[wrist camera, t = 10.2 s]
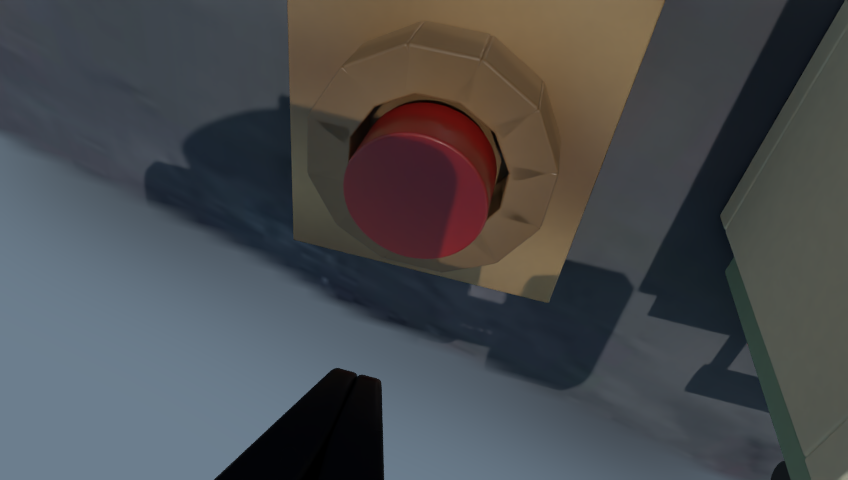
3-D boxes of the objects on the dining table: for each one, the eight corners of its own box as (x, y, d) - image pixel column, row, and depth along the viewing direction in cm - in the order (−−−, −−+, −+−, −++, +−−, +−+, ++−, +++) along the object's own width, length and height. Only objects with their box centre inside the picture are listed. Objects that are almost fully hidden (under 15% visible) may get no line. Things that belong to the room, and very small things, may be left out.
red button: (482, 234, 16) (473, 274, 14) (360, 205, 16) (339, 241, 15) (511, 118, 13) (503, 153, 12) (368, 87, 14) (344, 117, 12)
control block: (551, 271, 20) (546, 343, 17) (311, 213, 21) (270, 273, 18) (662, -31, 13) (682, 8, 11) (310, -97, 14) (248, -77, 12)
